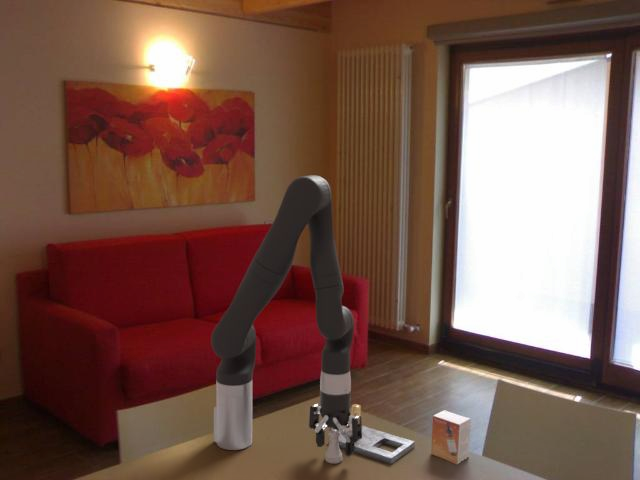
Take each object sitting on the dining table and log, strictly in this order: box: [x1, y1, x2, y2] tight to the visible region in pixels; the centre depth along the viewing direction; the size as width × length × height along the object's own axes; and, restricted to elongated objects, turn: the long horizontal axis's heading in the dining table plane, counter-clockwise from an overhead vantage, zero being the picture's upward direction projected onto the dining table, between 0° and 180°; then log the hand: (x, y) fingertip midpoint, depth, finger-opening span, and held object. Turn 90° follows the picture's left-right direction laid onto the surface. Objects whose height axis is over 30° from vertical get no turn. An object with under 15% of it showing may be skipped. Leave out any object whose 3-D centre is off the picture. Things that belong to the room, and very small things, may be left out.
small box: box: [430, 409, 472, 465], centre depth 174 cm, size 8×6×10 cm
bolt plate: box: [339, 403, 416, 465], centre depth 179 cm, size 19×12×10 cm, turn 54°
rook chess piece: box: [324, 427, 343, 465], centre depth 171 cm, size 4×4×8 cm
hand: (334, 450), depth 171 cm, fingers open, 8 cm apart
